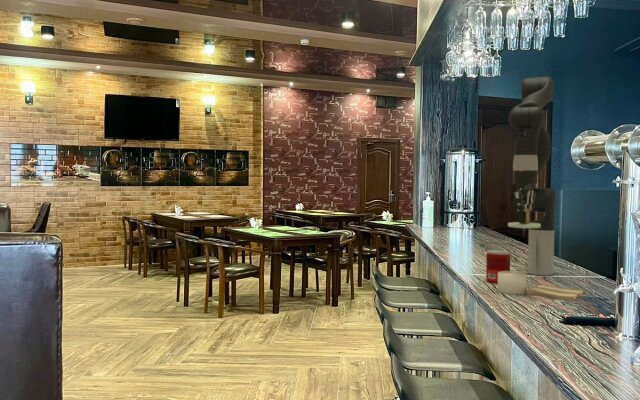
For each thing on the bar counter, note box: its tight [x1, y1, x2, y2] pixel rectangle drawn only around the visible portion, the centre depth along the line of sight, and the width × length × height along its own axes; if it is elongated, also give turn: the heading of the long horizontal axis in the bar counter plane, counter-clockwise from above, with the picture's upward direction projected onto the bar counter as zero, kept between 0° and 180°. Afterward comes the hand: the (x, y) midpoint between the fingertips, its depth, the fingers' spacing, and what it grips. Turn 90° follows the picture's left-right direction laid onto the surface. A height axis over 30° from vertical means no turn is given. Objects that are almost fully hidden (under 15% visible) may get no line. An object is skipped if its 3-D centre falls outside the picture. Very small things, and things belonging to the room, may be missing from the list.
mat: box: [525, 284, 586, 301], centre depth 177 cm, size 14×14×1 cm
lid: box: [507, 208, 541, 229], centre depth 179 cm, size 10×10×6 cm
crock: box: [497, 270, 528, 295], centre depth 180 cm, size 9×9×6 cm
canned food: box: [485, 249, 511, 285], centre depth 197 cm, size 8×8×11 cm
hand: (524, 222), depth 179 cm, fingers closed on lid, 3 cm apart
